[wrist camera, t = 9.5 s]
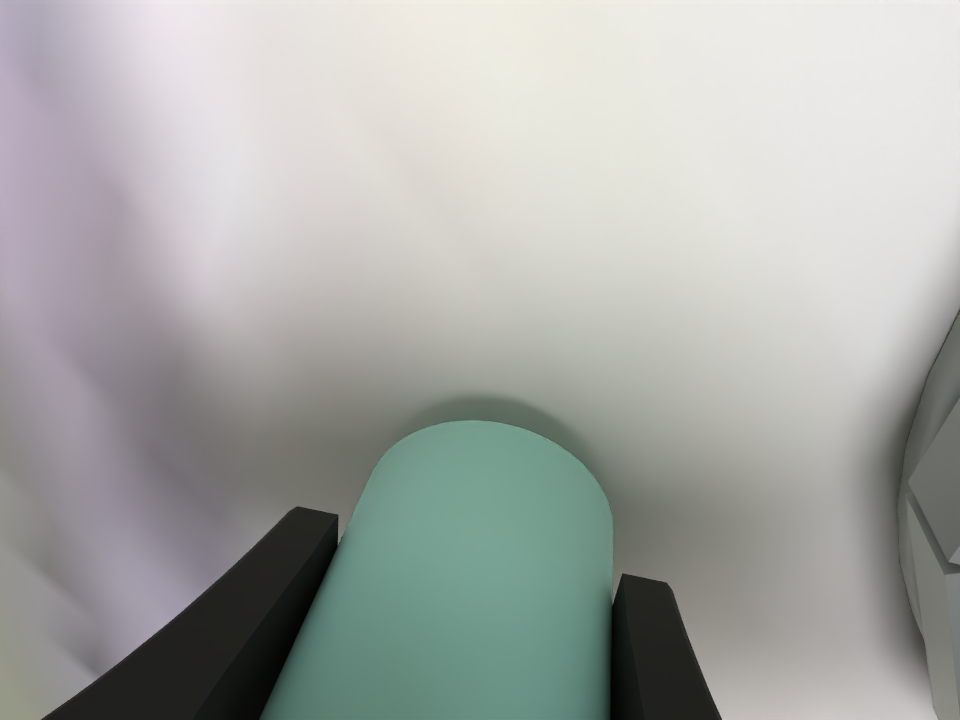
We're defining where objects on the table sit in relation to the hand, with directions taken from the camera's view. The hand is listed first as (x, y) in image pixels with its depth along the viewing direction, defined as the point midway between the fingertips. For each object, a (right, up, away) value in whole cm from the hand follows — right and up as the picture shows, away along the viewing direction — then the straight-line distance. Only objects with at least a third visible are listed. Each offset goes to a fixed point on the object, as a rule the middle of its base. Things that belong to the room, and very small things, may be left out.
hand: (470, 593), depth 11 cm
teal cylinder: (0, +1, +1) cm, 2 cm away
